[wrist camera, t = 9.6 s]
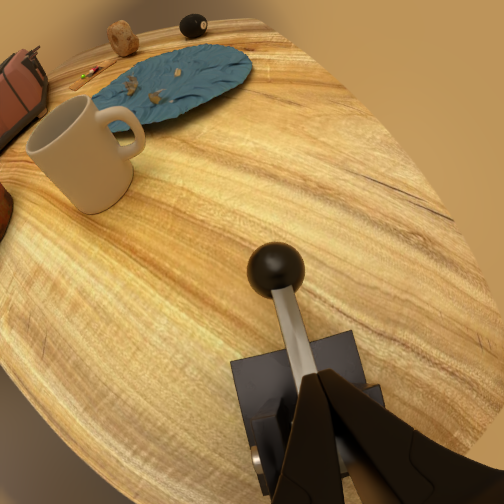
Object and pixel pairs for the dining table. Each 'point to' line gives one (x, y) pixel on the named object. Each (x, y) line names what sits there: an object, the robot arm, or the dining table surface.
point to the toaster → (21, 93)
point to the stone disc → (122, 38)
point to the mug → (86, 152)
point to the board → (91, 74)
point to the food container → (4, 209)
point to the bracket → (287, 399)
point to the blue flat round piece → (174, 83)
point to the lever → (285, 303)
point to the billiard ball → (193, 25)
